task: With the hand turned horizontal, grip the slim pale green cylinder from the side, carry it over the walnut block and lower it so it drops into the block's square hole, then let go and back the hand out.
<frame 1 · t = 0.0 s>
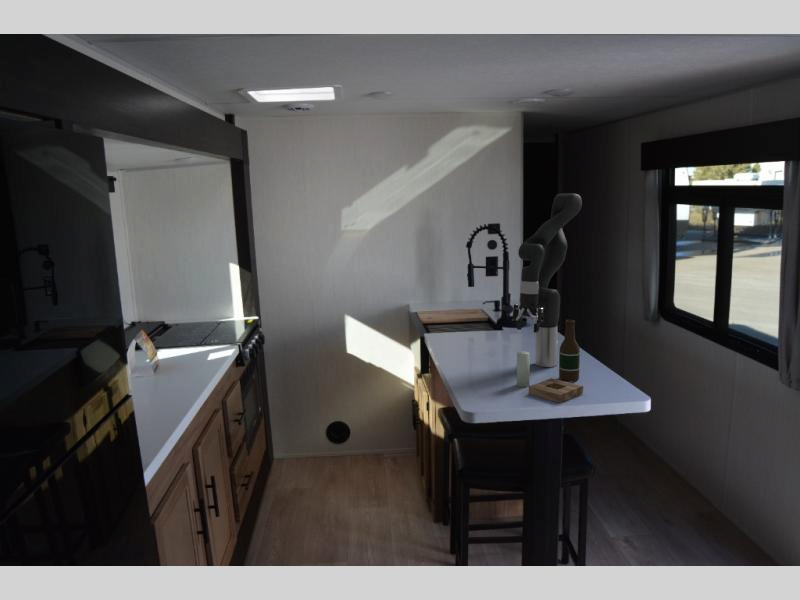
hand: (527, 330, 254), 17 cm above the kitchen island, tool pointing down, fingers open, 8 cm apart
beer bottle: (568, 379, 244), on the kitchen island
walnut block: (555, 393, 226), on the kitchen island
pale green cylinder: (523, 385, 238), on the kitchen island
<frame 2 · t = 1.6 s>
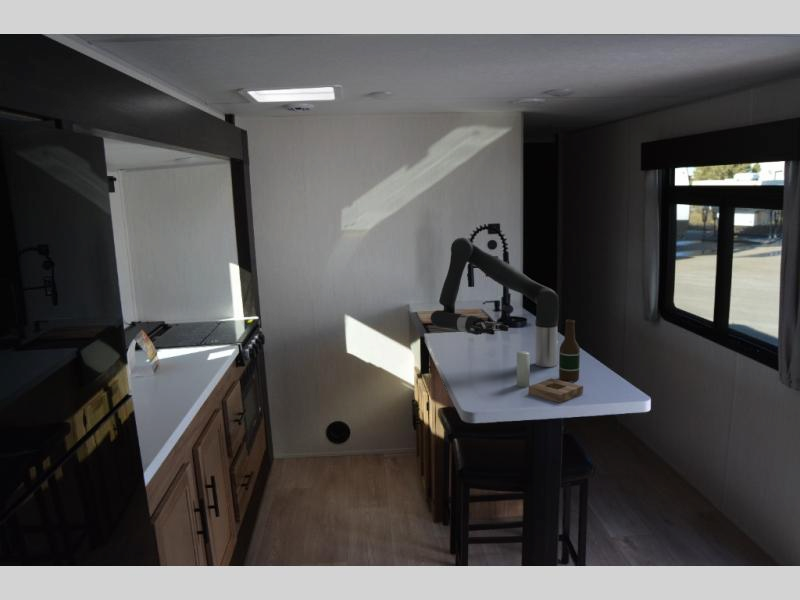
hand: (501, 330, 242), 20 cm above the kitchen island, tool horizontal, fingers open, 8 cm apart
nothing on the kitchen island moved.
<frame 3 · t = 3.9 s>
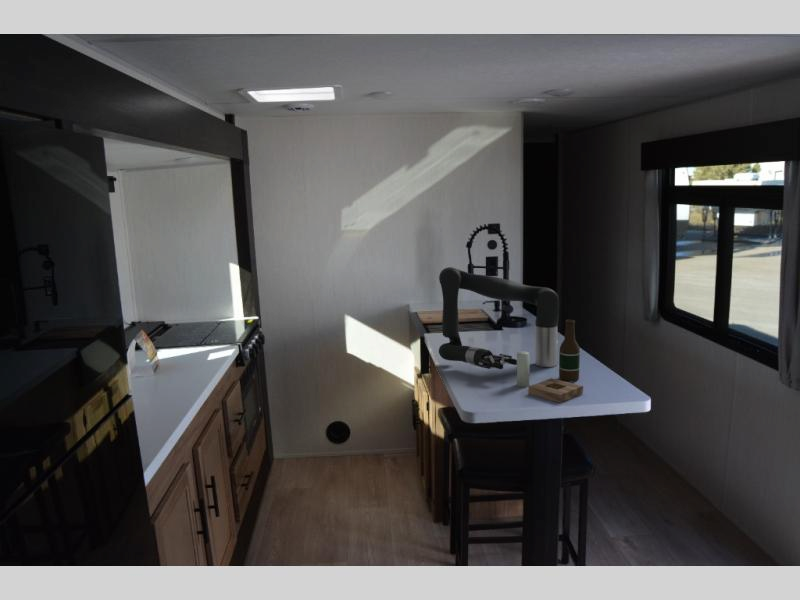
hand: (509, 364, 241), 7 cm above the kitchen island, tool horizontal, fingers open, 8 cm apart
nothing on the kitchen island moved.
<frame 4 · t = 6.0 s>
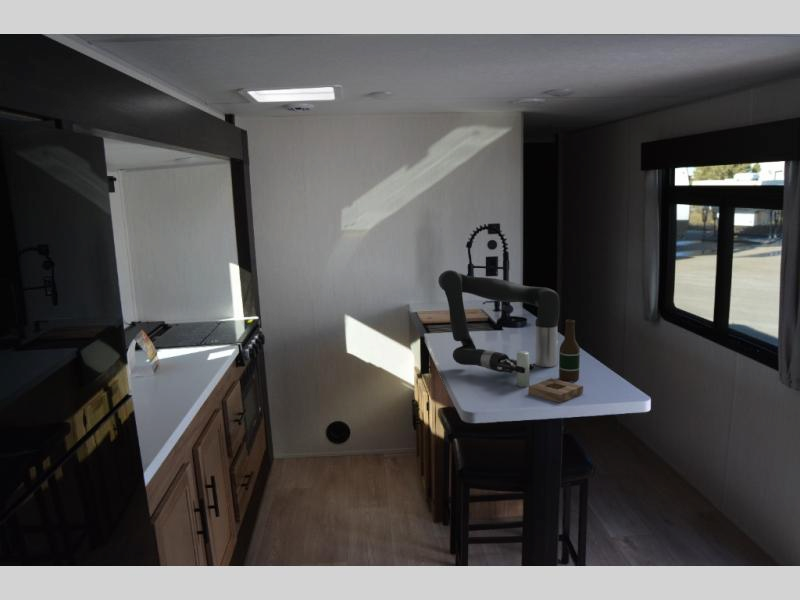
hand: (528, 369, 235), 7 cm above the kitchen island, tool horizontal, fingers closed on pale green cylinder, 4 cm apart
pale green cylinder: (523, 385, 238), on the kitchen island, touching gripper
everything else where it was.
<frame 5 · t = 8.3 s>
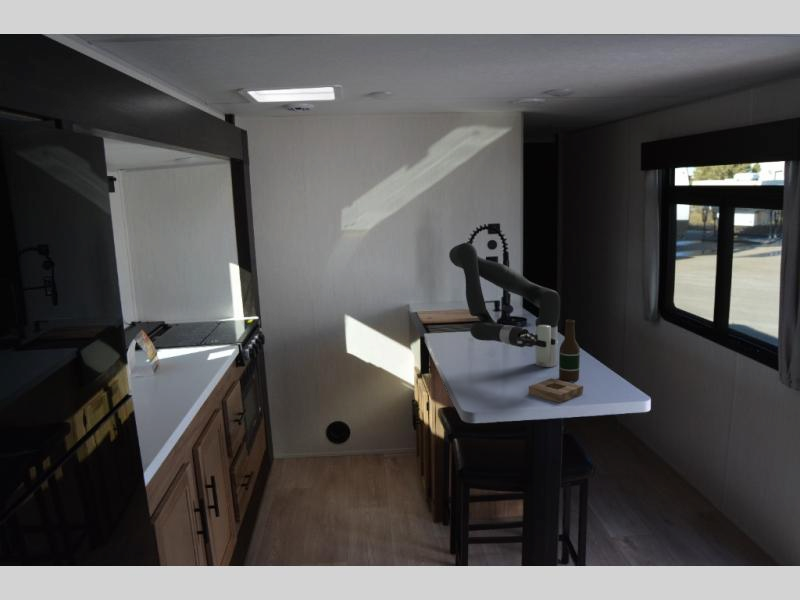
hand: (550, 343, 225), 19 cm above the kitchen island, tool horizontal, fingers closed on pale green cylinder, 4 cm apart
pale green cylinder: (543, 360, 228), point 12 cm above the kitchen island, touching gripper
everything else where it was.
when the fingers open (11 cm above the kitchen island, at t = 10.5 s): pale green cylinder drops 4 cm, resting in walnut block.
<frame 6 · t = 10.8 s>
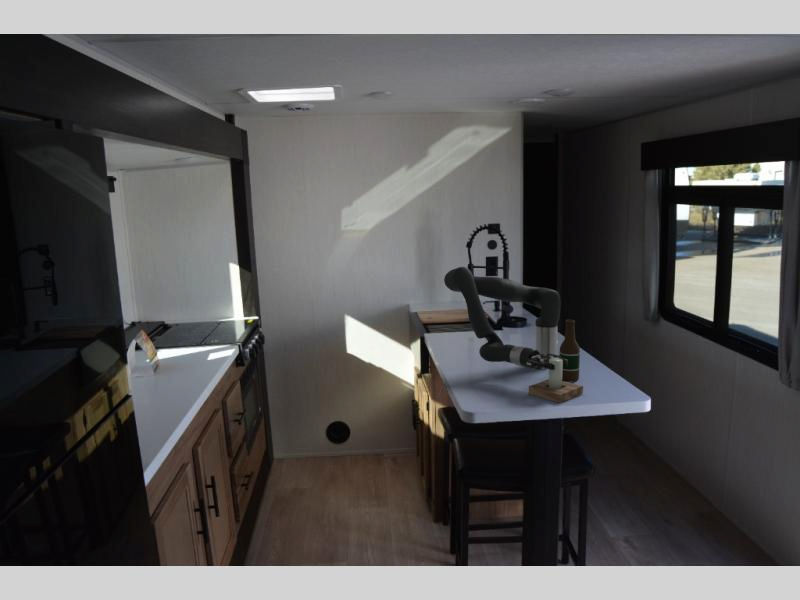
hand: (560, 364, 223), 12 cm above the kitchen island, tool horizontal, fingers open, 7 cm apart
pale green cylinder: (555, 393, 226), resting in walnut block
everything else where it was.
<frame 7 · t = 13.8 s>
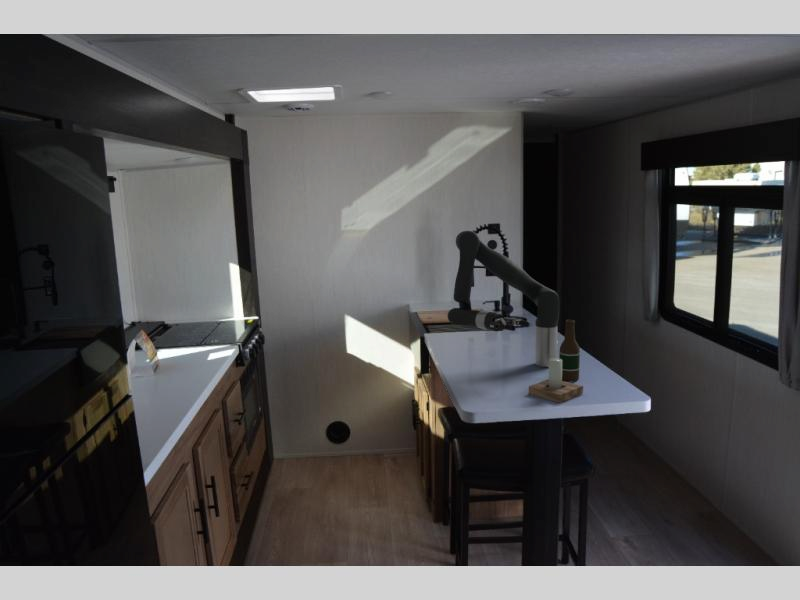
hand: (521, 326, 234), 23 cm above the kitchen island, tool horizontal, fingers open, 8 cm apart
nothing on the kitchen island moved.
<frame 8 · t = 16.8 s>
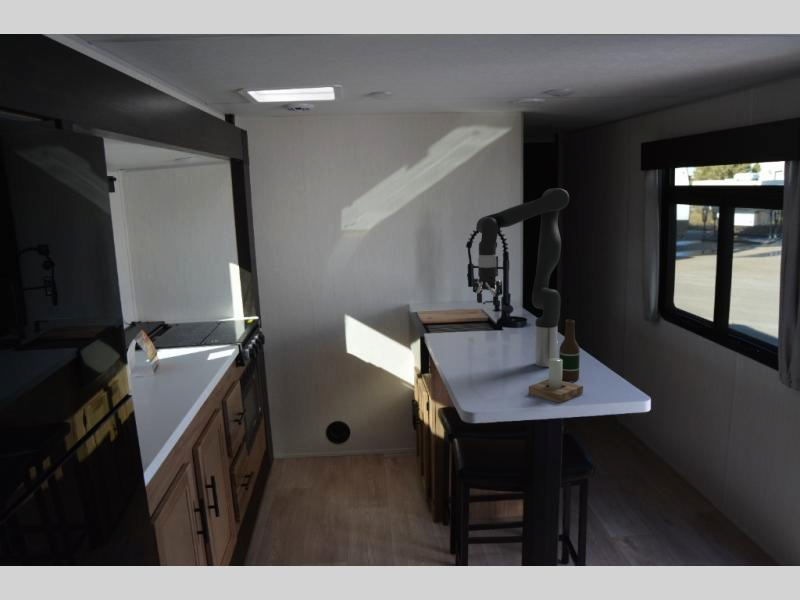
hand: (487, 303, 257), 28 cm above the kitchen island, tool pointing down, fingers open, 8 cm apart
nothing on the kitchen island moved.
at the end: pale green cylinder 0.1 cm off-centre on the walnut block, point 0.0 cm above the walnut block's base; pale green cylinder tilted 1°; the gripper is holding nothing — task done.
